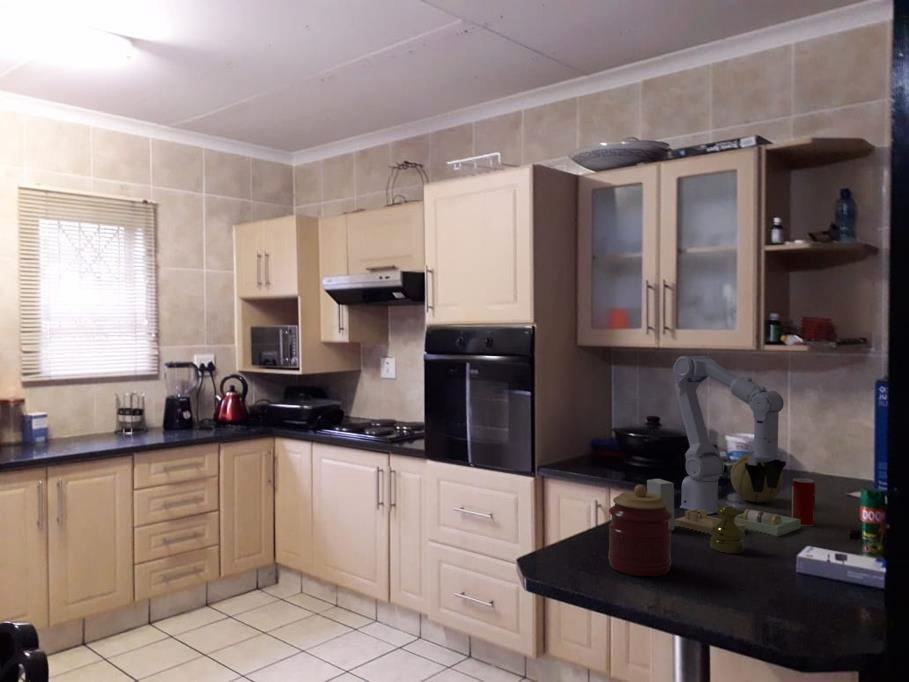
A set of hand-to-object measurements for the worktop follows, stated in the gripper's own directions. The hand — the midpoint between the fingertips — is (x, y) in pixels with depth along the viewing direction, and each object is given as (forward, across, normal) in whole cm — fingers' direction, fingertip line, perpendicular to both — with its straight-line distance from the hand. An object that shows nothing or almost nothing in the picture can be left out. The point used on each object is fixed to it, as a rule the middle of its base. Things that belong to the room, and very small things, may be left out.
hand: (764, 489), depth 181 cm
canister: (+10, -53, +1) cm, 54 cm away
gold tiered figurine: (+10, -26, -4) cm, 28 cm away
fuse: (+9, 0, 0) cm, 9 cm away
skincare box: (+10, -23, +16) cm, 30 cm away
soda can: (+10, +11, -5) cm, 16 cm away
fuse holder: (+10, -13, +8) cm, 18 cm away
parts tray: (+10, 0, 0) cm, 10 cm away
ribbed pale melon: (+10, +25, +15) cm, 31 cm away
